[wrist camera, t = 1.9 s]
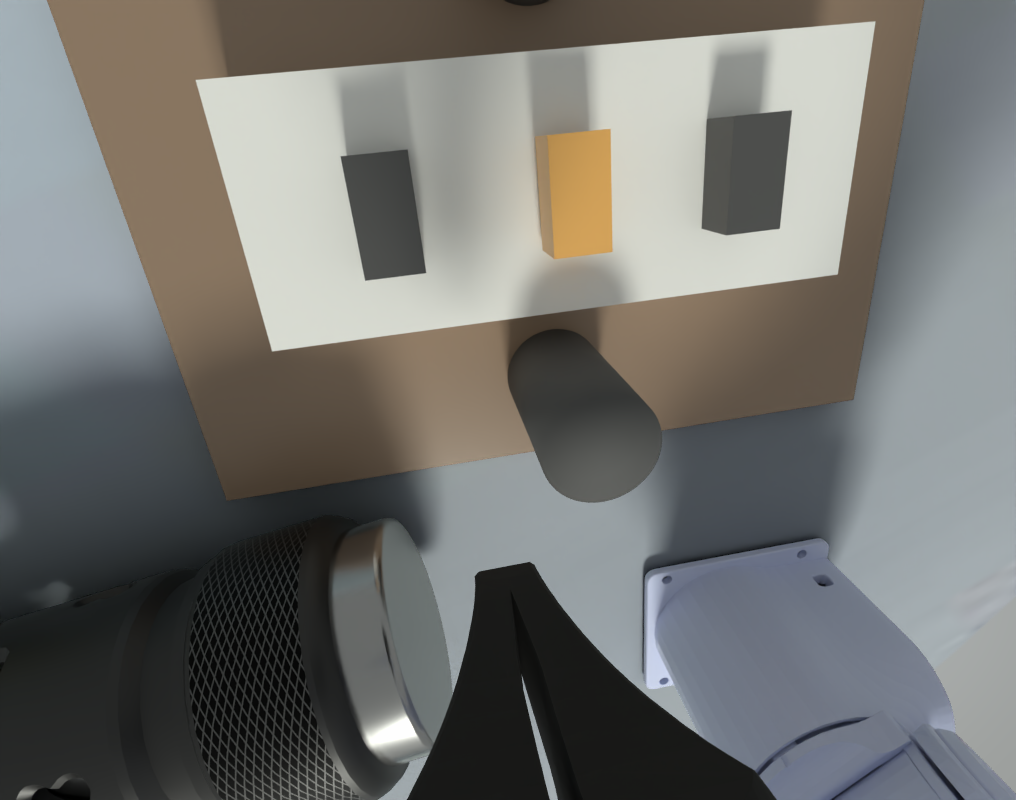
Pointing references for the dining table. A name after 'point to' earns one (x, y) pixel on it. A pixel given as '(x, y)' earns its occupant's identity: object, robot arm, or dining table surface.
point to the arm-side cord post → (582, 417)
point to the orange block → (575, 193)
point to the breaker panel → (460, 361)
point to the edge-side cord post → (526, 2)
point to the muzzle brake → (233, 676)
